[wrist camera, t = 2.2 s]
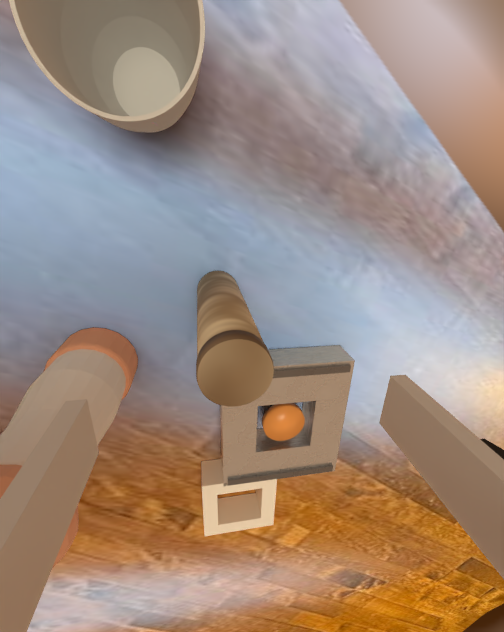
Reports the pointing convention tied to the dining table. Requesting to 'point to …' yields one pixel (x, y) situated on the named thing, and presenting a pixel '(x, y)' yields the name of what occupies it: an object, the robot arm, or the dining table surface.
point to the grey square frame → (318, 409)
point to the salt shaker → (65, 385)
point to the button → (283, 421)
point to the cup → (118, 55)
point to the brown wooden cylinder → (229, 344)
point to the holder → (234, 502)
